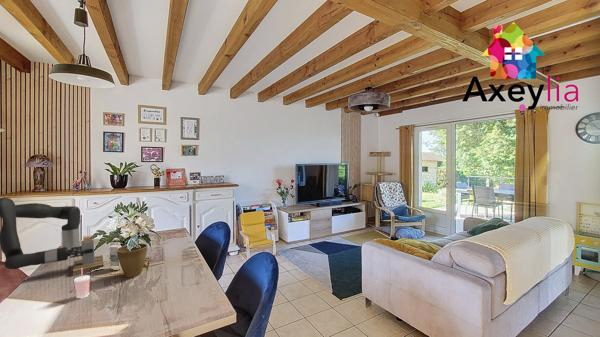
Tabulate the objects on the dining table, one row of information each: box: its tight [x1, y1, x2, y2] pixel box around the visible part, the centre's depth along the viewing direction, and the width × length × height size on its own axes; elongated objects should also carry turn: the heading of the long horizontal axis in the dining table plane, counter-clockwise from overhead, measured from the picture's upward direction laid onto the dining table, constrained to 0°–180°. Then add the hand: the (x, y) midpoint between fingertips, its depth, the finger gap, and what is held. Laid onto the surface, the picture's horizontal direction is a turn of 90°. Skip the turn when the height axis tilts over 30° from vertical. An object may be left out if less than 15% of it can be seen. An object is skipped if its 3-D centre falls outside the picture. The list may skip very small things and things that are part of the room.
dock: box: [72, 254, 105, 276], centre depth 161 cm, size 20×14×3 cm
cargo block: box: [82, 235, 93, 243], centre depth 160 cm, size 4×4×4 cm
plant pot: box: [117, 243, 148, 279], centre depth 149 cm, size 15×15×16 cm
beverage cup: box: [73, 268, 91, 299], centre depth 126 cm, size 6×6×14 cm
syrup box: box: [109, 243, 122, 267], centre depth 158 cm, size 6×6×14 cm
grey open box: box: [81, 238, 95, 265], centre depth 160 cm, size 6×6×13 cm
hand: (92, 248), depth 162 cm, fingers open, 7 cm apart
